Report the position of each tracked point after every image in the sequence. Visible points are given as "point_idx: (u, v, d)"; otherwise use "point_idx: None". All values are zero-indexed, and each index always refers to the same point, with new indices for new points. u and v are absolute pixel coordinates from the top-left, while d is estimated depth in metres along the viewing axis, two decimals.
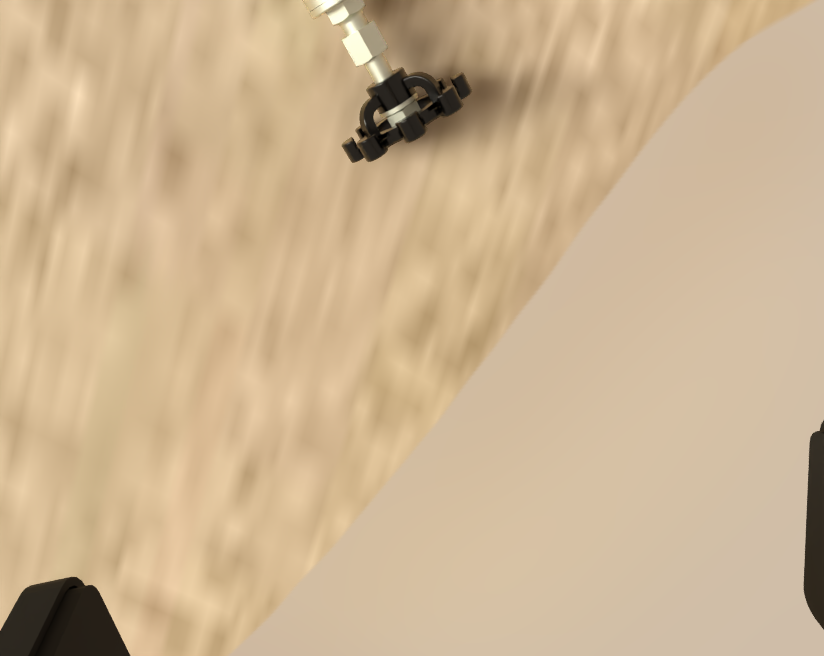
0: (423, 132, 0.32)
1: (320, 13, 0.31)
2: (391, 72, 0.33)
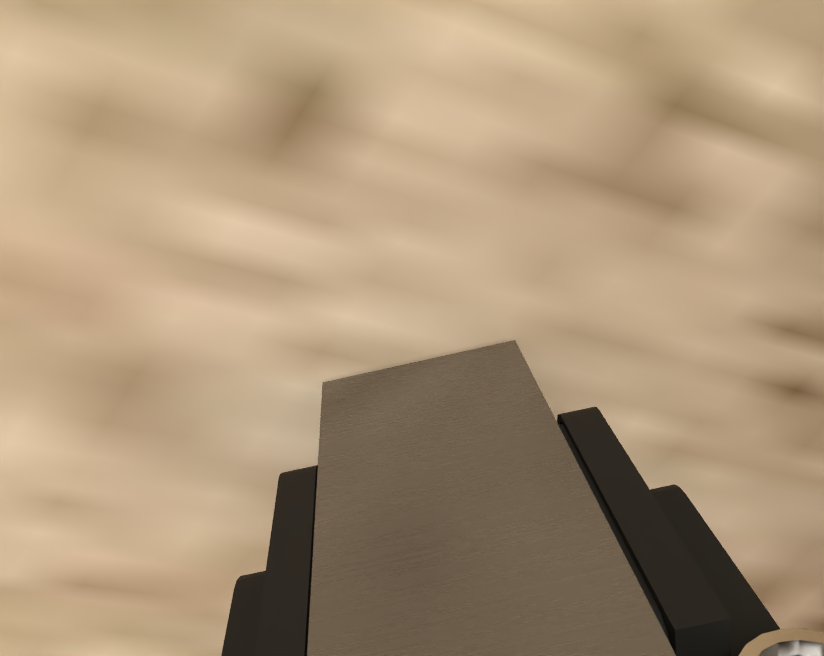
0: None
1: None
2: None
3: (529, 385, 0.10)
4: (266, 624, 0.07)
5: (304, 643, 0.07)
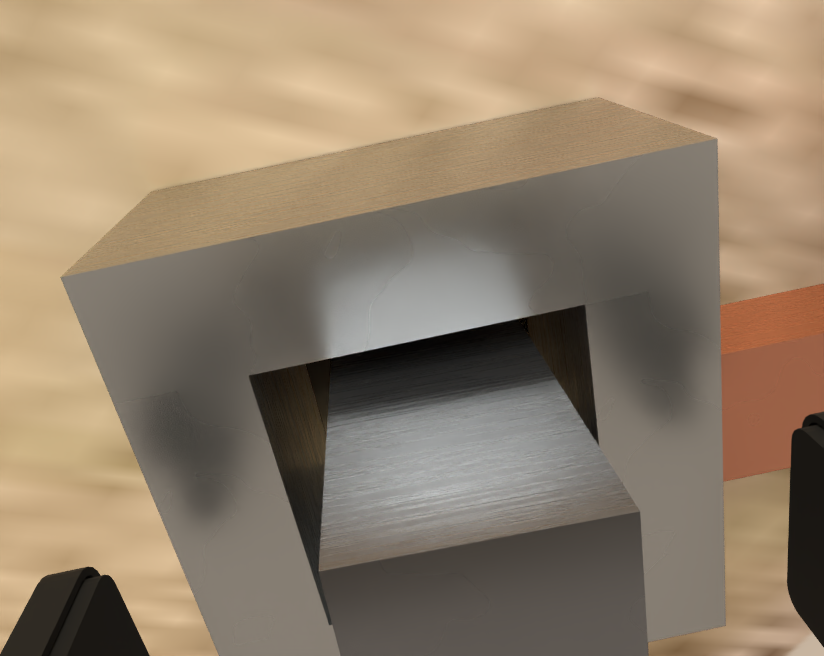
0: None
1: None
2: None
3: None
4: None
5: None
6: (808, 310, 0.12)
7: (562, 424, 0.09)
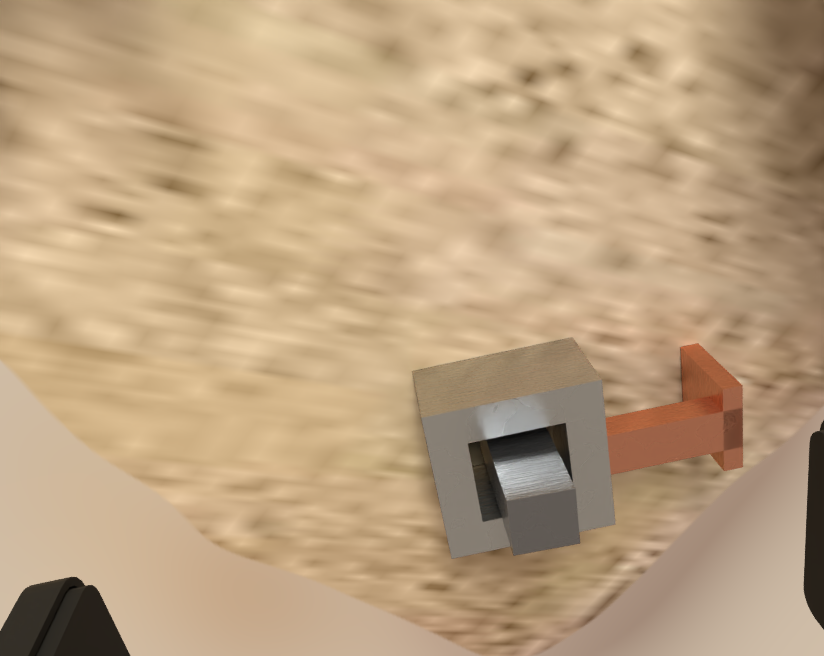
0: None
1: None
2: None
3: None
4: None
5: None
6: (636, 420, 0.38)
7: (559, 465, 0.35)
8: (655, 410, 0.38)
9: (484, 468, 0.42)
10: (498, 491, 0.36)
